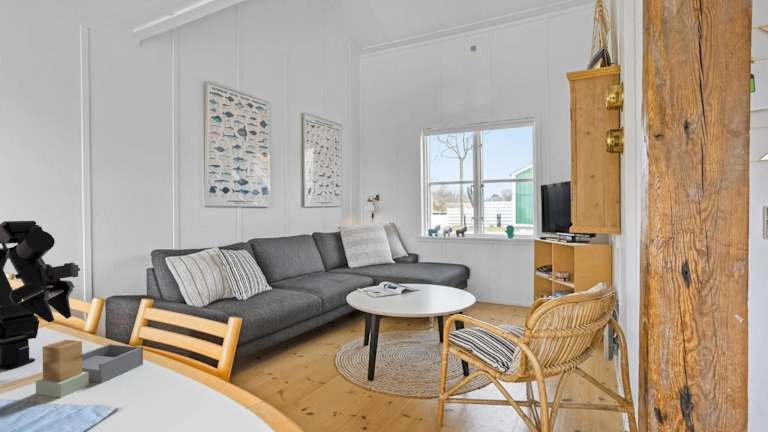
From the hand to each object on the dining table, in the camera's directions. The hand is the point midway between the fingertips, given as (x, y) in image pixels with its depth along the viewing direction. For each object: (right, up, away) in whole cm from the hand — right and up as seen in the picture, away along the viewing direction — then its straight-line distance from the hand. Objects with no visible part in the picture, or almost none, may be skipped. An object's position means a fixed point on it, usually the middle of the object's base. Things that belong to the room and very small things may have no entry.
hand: (60, 319), depth 104 cm
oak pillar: (+9, -10, -11) cm, 18 cm away
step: (+9, -13, -11) cm, 20 cm away
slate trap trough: (+12, -13, 0) cm, 18 cm away
